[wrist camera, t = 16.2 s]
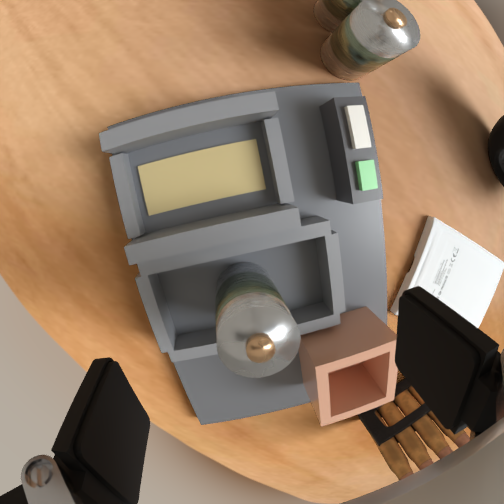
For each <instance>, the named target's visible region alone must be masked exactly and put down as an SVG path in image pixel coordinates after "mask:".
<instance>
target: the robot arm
mask: <svg viewBox="0 0 504 504" xmlns="http://www.w3.org/2000/svg"><path fill="white" fill-rule="evenodd" d="M498 347H499V344H497V343H496V342H495V341H494V340H492V339H491V338H490V337H489V336H487V335H486V334H485V333H483V332H482V331H481V330H480V329H478V328H477V327H476V326H474V325H473V324H472V323H470V322H469V321H468V320H466V319H465V318H464V317H462V316H461V315H460V314H458V313H457V312H456V311H454V310H453V309H451V308H450V307H449V306H447V305H446V304H445V303H443V302H442V301H440V300H439V299H438V298H436V297H435V296H433V295H432V294H430V293H429V292H428V291H426V290H425V289H423V288H422V287H420V286H416V287H413V288H411V289H408V290H405V291H404V292H403V293H402V296H401V297H400V298H399V306H398V325H397V338H396V350H395V364H396V366H397V368H398V369H399V371H400V372H401V373H402V374H403V376H404V377H405V378H406V379H407V381H408V382H409V383H410V384H411V386H412V387H413V388H414V389H415V391H416V392H417V393H418V394H419V396H420V397H421V398H422V400H423V401H424V402H425V403H426V405H427V406H428V407H429V409H430V410H431V411H432V412H433V414H434V415H435V416H436V418H437V419H438V420H439V422H440V423H441V424H442V425H443V427H444V428H445V429H447V430H449V429H450V430H451V431H452V433H453V434H454V435H455V434H457V433H458V432H460V431H462V430H463V429H465V428H466V427H467V426H468V427H469V428H470V430H471V434H470V441H469V442H468V443H466V444H465V445H463V446H461V447H460V448H458V449H457V450H455V451H454V452H452V453H450V454H449V455H447V456H445V457H444V458H442V459H440V460H438V461H437V462H435V463H433V464H431V465H429V466H428V467H426V468H424V469H422V470H420V471H418V472H416V473H414V474H412V475H410V476H408V477H406V478H404V479H402V480H399V481H397V482H395V483H393V484H390V485H388V486H386V487H384V488H381V489H379V490H376V491H374V492H371V493H369V494H366V495H363V496H361V497H358V498H355V499H352V500H349V501H346V502H343V503H340V504H504V349H503V351H502V353H501V354H500V353H499V352H498ZM149 429H150V419H149V416H148V415H147V413H146V411H145V410H144V408H143V406H142V405H141V403H140V401H139V400H138V398H137V396H136V394H135V393H134V391H133V389H132V387H131V386H130V384H129V382H128V380H127V378H126V376H125V375H124V373H123V371H122V369H121V367H120V365H119V363H118V362H116V361H113V359H112V358H100V359H95V360H94V361H93V362H92V364H91V366H90V368H89V370H88V372H87V374H86V376H85V378H84V380H83V382H82V384H81V386H80V388H79V390H78V392H77V394H76V396H75V398H74V400H73V402H72V404H71V406H70V409H69V411H68V413H67V415H66V417H65V420H64V422H63V424H62V426H61V428H60V431H59V433H58V435H57V438H56V441H55V443H54V445H53V447H52V452H54V454H55V456H54V458H52V457H50V456H47V455H38V456H35V457H33V458H31V459H30V460H29V461H28V462H27V463H26V464H25V465H24V467H23V469H22V473H21V480H22V485H20V486H18V487H16V488H14V489H13V490H11V491H9V492H7V493H5V494H3V495H2V496H0V504H137V503H138V500H139V491H140V484H141V478H142V471H143V464H144V457H145V451H146V445H147V440H148V433H149Z"/></svg>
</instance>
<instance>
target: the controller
mask: <svg viewBox="0 0 504 504" xmlns="http://www.w3.org/2000/svg"><path fill="white" fill-rule="evenodd" d="M488 150H489V157H490V161H491V165H492V167H493V170H494V172H495V174H496V176H497V177H498V179H499V181H500V182H501V183H502V185H503V186H504V115H503V116H502V117H501V118H500V119H499V120H498V122H497V123H496V124H495V126H494V127H493V129H492V131H491V133H490V136H489V142H488Z"/></svg>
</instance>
